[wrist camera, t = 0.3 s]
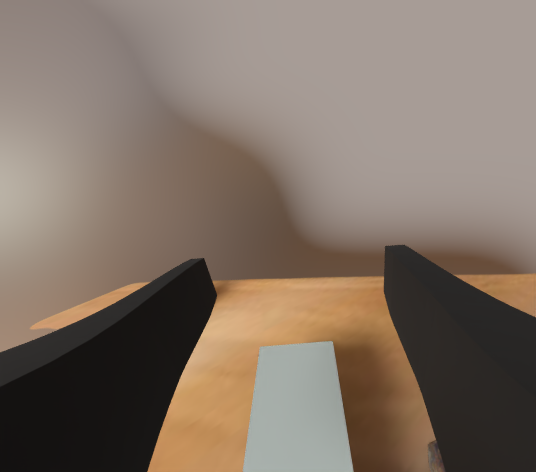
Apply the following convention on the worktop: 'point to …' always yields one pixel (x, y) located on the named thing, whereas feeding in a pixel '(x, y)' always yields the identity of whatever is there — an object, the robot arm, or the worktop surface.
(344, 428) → the shelf
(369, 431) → the worktop surface
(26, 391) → the robot arm
